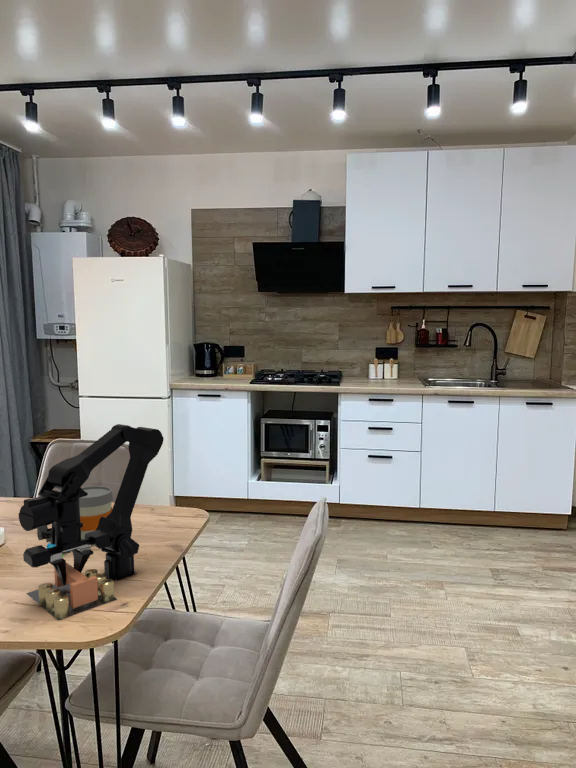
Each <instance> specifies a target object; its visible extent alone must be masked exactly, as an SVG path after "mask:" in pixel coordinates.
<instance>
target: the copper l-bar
mask: <svg viewBox="0 0 576 768" xmlns="http://www.w3.org/2000/svg"><path fill="white" fill-rule="evenodd" d="M53 567H54V566H53ZM53 569H54V584H55V586H56V587H61V586H64V585H63V584H62V583H61V580H60V578H59V576H58V574H57V571H56V569H55V567H54V568H53ZM67 584H69V585H70V599H71V607H73V608H76V607H79V606H81V605H84V604H87V603H90V602H93V601H96V600H98V583H97V577H96V576H92V577H89V578H87V577H86V576H85V574H84V573H82V572H81V573H80V572H79V571H78V570H76V569H75V568H74V566H72V565H71V564H69V563H68V562H66V585H67Z"/></svg>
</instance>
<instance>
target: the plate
mask: <svg viewBox="0 0 576 768" xmlns="http://www.w3.org/2000/svg"><path fill="white" fill-rule="evenodd" d="M104 574H105V573H104ZM104 574H103V573H100V574H99V572H98V570H97V569H95V568H93V569H92V568H91V569H87V570H85V571H84V575H85V576H86V577H87V578H89V577H92V576H96V577H97V583H98V600H96V601H93V602H90V603H87V604H84V605H81V606H79V607H76V608H73V607H71V605H70V604H69V597H68V596H67V595H66V592H68V591H69V590H70V585H69V584H67V585H64V586H61V587H56V586H55V583H54V584H53V583H52V582H45V583H41V584H39V585H38V587H37V588H38V589H36V590H33V591H29V592H26V593H25V594H26V595H28V597H30V599H32V600H33V601H35V602H36V603H37V604H38V605H39V606H40V607H42V609H44V610H45V611H46V612H47V613H49V614H50V615H51V616H52V617H53V618H54V619H55V620H57V621H58V622H59V621H61V620H64V619H68V618H70V617H73V616H76V615H78V614H81V613H84V612H87V611H89V610H92V609H95V608H98V607H101V606H103V605H106V604H109V603H113V602H115V601H118V598H117V597H115V581H113V580H112V579H109V578H108V579H106V578H107V577H106V576H105V575H104Z"/></svg>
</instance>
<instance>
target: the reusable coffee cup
mask: <svg viewBox="0 0 576 768" xmlns="http://www.w3.org/2000/svg"><path fill="white" fill-rule="evenodd" d="M81 488H82V489H83V490H84V491H85V492H87V493H88V495H87V496H84V497H81V498H80V522H82V523H83V527H82V528H81V539H85V534H86V533H88V532H92V531H95V530H96V529H97V527H98V524H99V520H100V518H101V517H105V518H106V517H107V516H108V515H109V514H110V513H111V511H112V509H113V507H112V504H113V503H112V502H113V500H114V497H113V489H112V488H111V487H108V486H103V485H102V486H99V485H97V486H96V485H94V486H84V487H81ZM91 547H96V546H95V544H94V545H91Z"/></svg>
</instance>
